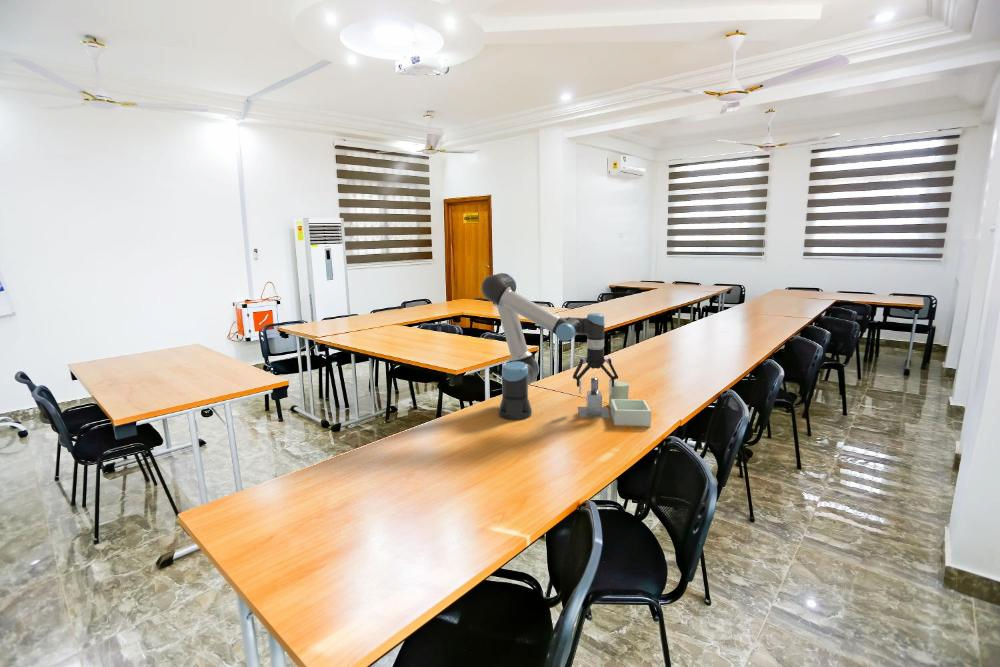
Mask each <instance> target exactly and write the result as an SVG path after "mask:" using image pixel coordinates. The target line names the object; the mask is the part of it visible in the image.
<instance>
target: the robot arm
mask: <svg viewBox="0 0 1000 667" xmlns="http://www.w3.org/2000/svg"><path fill="white" fill-rule="evenodd" d="M480 287H481V288H480V290H481V293H482V295H483V296H484V298H485V299H487V301H490V302H491V303H492V304H493V305H492V306H494V307H496V308H497V310H498V312H497V313H498V315H499V317H500V322H501V325H502V329H503V331H504V332H503V333H504V337H505V340H506V343H507V344H506V345H507V347H508V351H509V355H510V357H509V358H508V362H507V363H505V364H504V365H503V366H502V369H501V376H502V377H501V382H502V383H501V388H502V390H501V391H502V393H501V394H502V398H501V401H500V405H499V408H498V415H499V417H501V418H503V419H506V420H514V421H515V420H523V419H527V418H530V417H531V416H532V413H533V411H532V407H531V403H530V400H529V392H528V391H529V385H530V384H532V383H533V382H534V381H536V379H537V377H538V375H539V372H540V365H539V363H538V362H537V361H536V359H534V356H533V353H532V352H530V351H529V350H528V346H527V342H526V339H525V335H524V332H523V328H522V324H521V320H520V317H519V315H520V316H521V317H523V318H525V319H527V320H528V321H531V322H533V323H534V324H536V325H538V326H539V327H542V328H543V329H545V330H547V331H549V332H551V333H553V334H554V335H556V337H557V338H558V340H559V341H562V342H569V341H570V340H572V339H573V338H574V337H575V336H577V335H583V336H584V335H586V337H587V338H586V347H587V348H586V358H583V357H580V359H579V363H578V365H577V367H576V369H575V371H574V373H573V375H572V378H573V380H575V381H576V387H577V388H578V392H579V394H578V395H582V379H581V378H582V377H583V376H584V375H585V374H586V373H587V372H588V371H589V370H590V369H592V370H593V369H602V370H603V372H605V374H606V375H607V376H608V378H609V380H608V381H609V382H608V383H609V384H608V386H609V387H608V394H609V393H610V394H612V387H614V381H616V380H619V376H618V373H617V371H616V370H615V368H614V366H613V364H612V359H611V358H610V357H608V358H605V348H604V347H605V326H606V324H605V316H604V314H603V313H597V312H594V313H588V314H587V316H586V317H571V316H568V317H561V316H559V315H557V314H556V313H554V312H552V311H549V310H548V309H546V308H545V307H542V306H541V305H539V304H537V303H535V302H533V301H532V300H530V299H528V298H526V297H524V296H522V295H520V294H519V293H517V292H516V291H517V281H516V280H515V279H514V277H513V276H512V275H510V274H508V273H503V272H501V273H496V274H490V275H488V276H486V277H485V278H484V279H483V281H482V283H481V286H480ZM585 363H586V365H585V367H584V368H583V369H582V371H580V370H581V368H582V367H583V364H585ZM605 363H607V364H608V365H609V367H610V370H611V371H612V373H613V374H612V373H611V372H610V371H609V370H608V369H607V368H606V367H605V365H604V364H605Z"/></svg>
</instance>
